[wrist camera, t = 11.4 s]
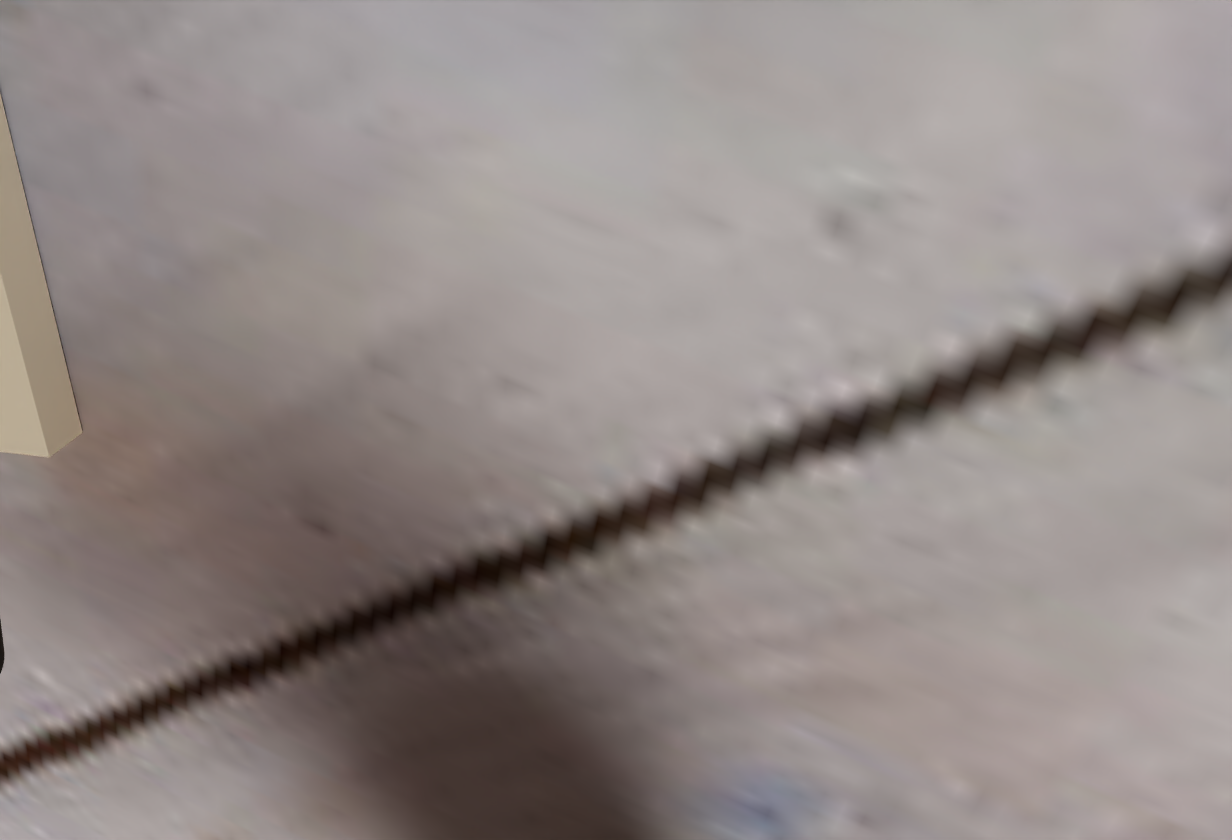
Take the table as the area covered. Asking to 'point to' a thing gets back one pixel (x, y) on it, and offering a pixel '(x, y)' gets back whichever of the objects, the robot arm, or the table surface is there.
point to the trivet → (28, 331)
